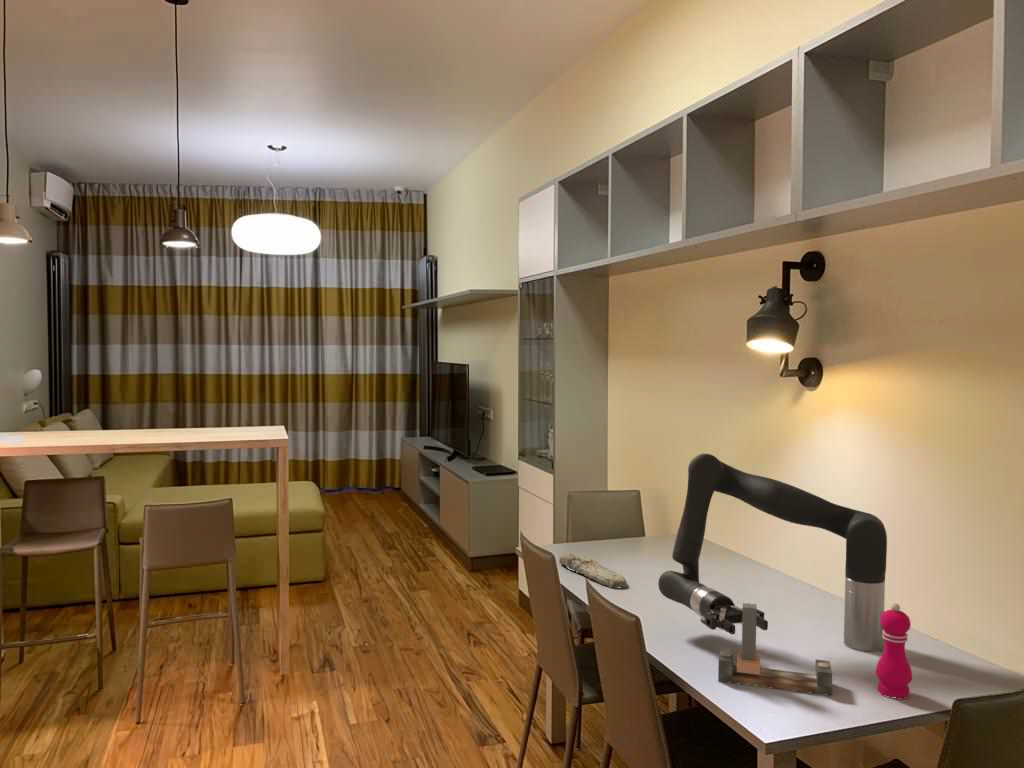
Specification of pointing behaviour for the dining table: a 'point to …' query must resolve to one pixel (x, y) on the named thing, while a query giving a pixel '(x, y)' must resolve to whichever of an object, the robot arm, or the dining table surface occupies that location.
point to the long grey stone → (592, 570)
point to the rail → (778, 676)
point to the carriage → (748, 642)
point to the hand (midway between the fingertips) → (750, 628)
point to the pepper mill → (894, 654)
